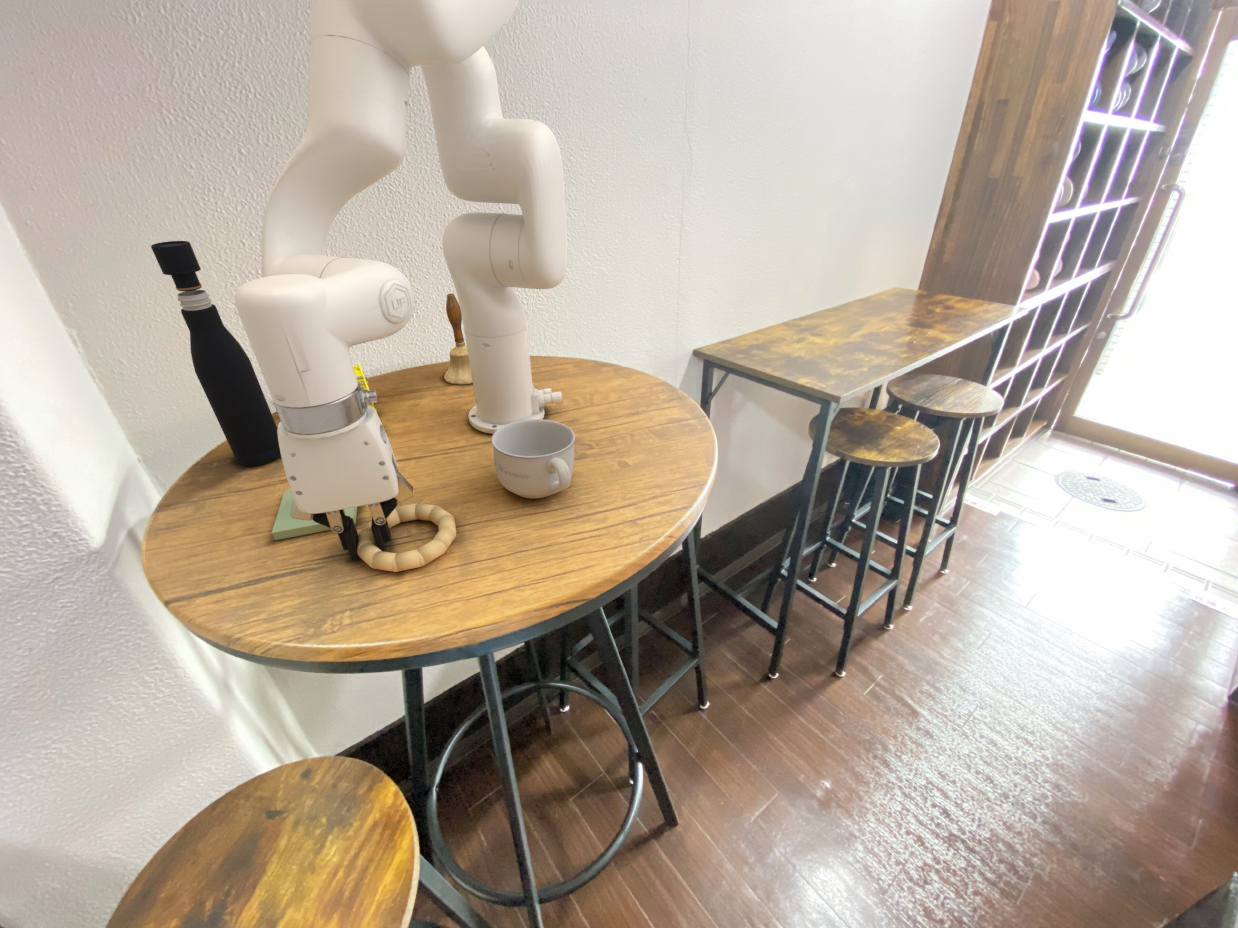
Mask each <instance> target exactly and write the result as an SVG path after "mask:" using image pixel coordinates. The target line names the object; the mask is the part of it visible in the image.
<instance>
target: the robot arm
mask: <svg viewBox="0 0 1238 928" xmlns="http://www.w3.org/2000/svg"><path fill="white" fill-rule="evenodd" d="M519 1H520V0H310V21H309V22H310V25H309V29H310V30H309V64H308V65H309V66H308V69H309V70H308V94H307V95H308V96H307V97H308V101H307V103H308V104H307V107H308V108H307V124H306V130H305V133H304V136H303V138H302V139H301V141H300V142H299V144H298V145H297V146H296V147H295V149H294V150H293V152H292V153H291V155H290V156H289V159H288V160H287V161H286V163H285V165H284V166H283V168H282V170H281V172H280V173H279V176H278V178H277V180H276V182H275V183H274V185H273V187H272V189H271V190H270V193H269V195H268V198H267V202H266V204H265V207H264V209H263V210H264V211H263V215H262V223H261V248H260V249H261V250H260V252H261V255H260V256H261V262H260V263H261V266H260V267H261V268H260V269H261V277H259V278H258V277H257V278H255V279H251V280H249V281H247V282H245V283H242V284H241V285H240V286H238V288H237V290H236V292H235V294H234V304H235V308H236V311H237V313H238V316H239V319H240V321H241V323H242V326H243V329H244V331H245V334H246V336H247V339H248V341H249V344H250V347H251V350H252V351H253V354H254V357H255V359H256V362H257V364H258V366H259V369H260V371H261V374H262V376H263V379H264V382H265V385H266V386H267V389H268V391H269V395H270V397H271V399H272V403H273V405H274V408H275V410H276V413H277V415H278V418H279V420H280V421H279V422H278V424H277V433H278V441H279V448H280V453H281V457H280V458H281V462H282V465H283V469H284V475H285V478H286V480H287V485H288V488H289V490H291V493H292V496H293V503H292V508H291V513H290V516H291V517H292V518H293V519H300V520H309V521H310V520H313V521H314V522H316V523H319V524H321V525H324V526H326V527H329V528H331V530H330V531H331V532H332V533H334V534H337V536H338V538H339V541H340V544H341V546H342V549H343V551H348V552H349V555H350V558H351V560H357V559H359V558H360V557H359V556H358V554H357V545H358V536H359V532H358V530H357V527H356V523H355V524H354V521H353V519H352V518H351V517H350V516H346V514H345V510H344V509H347V508H352V507H357V508H358V507H363V506H368V509H369V511H370V514H371V520H372V523H371V530H372V533H373V536H374V539H375V542H376V546H377V547H378V548H379V549H380V550H381V551H383V552H387V543H388V542H391V541H392V534H391V530H390V529H391V528H389V526H388V523H387V517H388V516H389V515H390V514H391V513H392V511H393V510H394V509H395V508H396V507H398V505H400V504H403V503H404V502H407V501H409V499H411V498H412V497H414V495H415V494H414V493H415V492H414V487H413V486H414V485H412V484H411V483H410V482H409V481H408V480H407V479H406V478H405V476H403V474H402V473H401V472H400V470H399V467H398V463H397V462H398V461H397V460H396V456H395V453H394V450H393V448H392V445H391V441H390V439H389V436H388V434H387V431H386V430H385V427H384V425H383V423H382V421H381V418H380V417H379V414H378V415H377V413H378V412H377V413H376V411H375V410H374V408H375V407H374V408H373V407H371V406H367V405H371V403H374V404H377V403H379V402H380V400H379V394H378V392H377V389H369V391H368V389H366V390H364V388H363V387H361V386H360V383H359V382H358V381H357V378H356V375H355V371H354V368H353V365H354V364H353V361H352V358H351V354H350V349H351V348H352V347H353V346H357V345H361V344H365V343H368V342H374V341H378V340H381V339H386V338H388V337H391V336H393V335H394V334H397V333H398V332H399V331H401V330H402V329H403V328H405V326H406V325H407V324H408V323H409V321H410V320H411V319H412V316H413V313H414V309H415V303H416V301H415V300H416V299H415V292H414V289H413V287H412V284H411V282H410V281H409V279H408V277H407V276H406V275H405V274H404V273H403V272H402V271H401V270H399V269H398V268H397V267H396V266H393V265H391V264H389V263H387V262H384V261H380V260H375V259H369V258H368V259H367V258H356V257H345V256H336V255H327V246H328V245H327V244H328V238H329V235H330V231H331V228H332V225H333V223H334V221H335V219H336V218H337V215H338V214H339V212H340V211H341V210H342V208H344V206H345V205H346V204H348V202H350V200H351V199H353V198H354V197H355V196H357V195H359V193H361V192H363V191H365V190H366V189H368V188H370V186H372V185H374V184H375V183H377V182H379V181H380V180H382V179H383V178H385V177H387V176H388V175H390V174H391V173H393V172H394V171H396V170H397V169H398V168H399V167H400V166H401V165H402V164H403V162H404V160H405V157H406V149H407V147H406V145H407V124H408V123H407V122H408V107H409V105H408V104H409V87H410V78H411V77H410V76H411V74H410V73H411V70H412V68H413V67H420V69H421V71H422V74H423V77H424V81H425V85H426V89H427V94H428V99H429V105H430V110H431V117H432V123H433V129H434V135H435V141H436V147H437V153H438V158H439V163H440V167H441V169H440V170H441V172H442V177H443V180H444V184H445V185H446V187H447V189H448V191H449V192H450V193H451V195H453V196H454V197H456V198H457V199H460V200H463V201H467V202H473V203H474V202H475V203H486V204H509V205H519V208H520V210H521V214H517V213H516V214H513V213H504V212H483V211H481V212H479V211H478V212H467V213H462V214H459V215H457V216H455V217H454V218H452V219H451V220H450V221H449V222H448V224H447V225H446V226H445V228H444V231H443V236H442V252H443V257H444V260H445V263H446V266H447V269H448V272H449V274H450V277H451V279H452V283H453V285H454V288H455V293H456V296H457V301H458V303H459V305H460V309H461V314H462V326H463V332H464V338H465V339H464V340H465V345H466V346H467V351H468V357H469V363H470V369H471V376H472V382H473V383H472V386H473V393H474V399H475V405H474V406H472V407H471V409H470V410H469V412H468V417H467V418H468V421H469V424H470V426H471V427H472V428H474V429H475V430H477V431H479V432H482V433H486V434H491V435H493V434H494V433H495V431H496V430H498V429H499V428H500V427H502V426H504V425H506V424H509V423H513V422H516V421H520V420H531V419H545V415H546V413H545V406H546V405H555V404H563V401H564V399H563V394H562V391H552V388H551V387H547V388H543V389H538V388H535V386H534V384H533V374H532V373H533V372H532V363H531V355H530V354H531V353H530V344H529V333H528V323H527V322H528V321H527V314H526V310H525V307H524V304H523V302H522V300H521V299H520V297H519V295H518V294H517V291H516V290H515V289H514V288H518V289H530V290H549V289H550V290H551V289H554V288H556V287H557V286H559V285H560V284H561V283H562V282H563V280H564V279H565V277H566V272H567V268H568V261H569V260H568V259H569V258H568V257H569V247H568V245H569V243H568V227H567V226H568V225H567V209H566V194H565V193H566V191H565V175H564V166H563V157H562V153H561V149H560V146H559V143H558V141H557V138H556V136H555V134H554V132H553V131H552V130H551V129H550V127H549V126H548V125H546V124H545V123H543V122H542V121H539V120H537V119H533V118H532V119H531V118H504V116H503V111H502V105H501V100H500V99H501V98H500V91H499V85H498V77H497V72H496V69H495V66H494V63H493V60H492V59H491V57H490V54H489V52H488V51H487V49H486V47H485V45H486V44H487V43H488V42H489V41H490V40H491V39H492V38H493V37H494V36H495V35H496V34H497V33H498V32H500V30H502V29H503V28H504V27H505V26H506V25H507V23H508V22H509V21H510V20H511V19H512V17H513V16H514V14H515V12H516V10H517V8H518V4H519Z"/></svg>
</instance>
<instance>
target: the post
mask: <svg viewBox="0 0 1238 928" xmlns="http://www.w3.org/2000/svg"><path fill="white" fill-rule="evenodd" d="M292 503H293V496H292V493H291V490H290V489H288V490H285V491H283V495H282V497H281V501H280V505H279V507H278V511H277V514H276V518H275V520H274V523H273V527H272V529H271V536H272V538H273V540H274V541H279V540H284V539H291V538H296V537H300V536H306V535H311V534H316V533H320V532H325V531H326V532H327V531H332V530H331V528H329V527H326V526H324V525H321V524H319V523H316V522H314V521H313V520H310V521H309V520H300V519H293V518H292V517H291V516H290V513H291V508H292ZM344 510H345V514H346V516H350V517H351V518H352V519H353V521H354V524H355V525H356V521H357V512H358V506H357V507H352V508H347V509H344Z"/></svg>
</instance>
